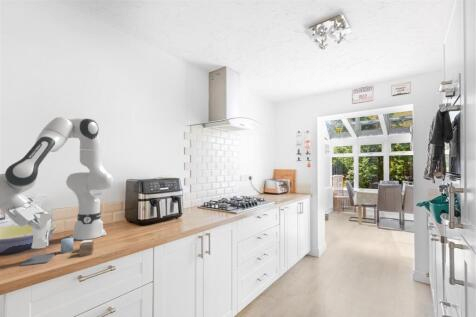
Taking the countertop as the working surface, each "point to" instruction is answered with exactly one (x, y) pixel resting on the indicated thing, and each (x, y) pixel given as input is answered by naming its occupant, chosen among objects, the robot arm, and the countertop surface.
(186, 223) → the countertop surface
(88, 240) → the pale grey block
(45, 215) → the beer glass
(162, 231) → the countertop surface
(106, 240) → the countertop surface
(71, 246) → the slate-blue cylinder
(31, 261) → the charcoal mat
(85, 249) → the walnut cube
